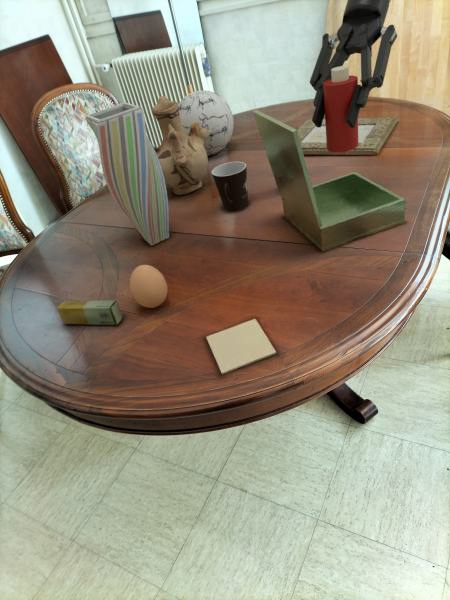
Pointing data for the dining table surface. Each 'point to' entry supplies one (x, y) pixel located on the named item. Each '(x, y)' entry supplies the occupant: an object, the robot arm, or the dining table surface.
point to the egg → (148, 286)
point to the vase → (132, 169)
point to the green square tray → (348, 211)
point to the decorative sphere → (208, 118)
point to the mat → (240, 346)
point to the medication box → (90, 312)
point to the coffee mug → (232, 185)
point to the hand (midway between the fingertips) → (332, 123)
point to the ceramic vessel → (180, 149)
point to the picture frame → (369, 136)
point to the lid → (288, 165)
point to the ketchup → (339, 110)
